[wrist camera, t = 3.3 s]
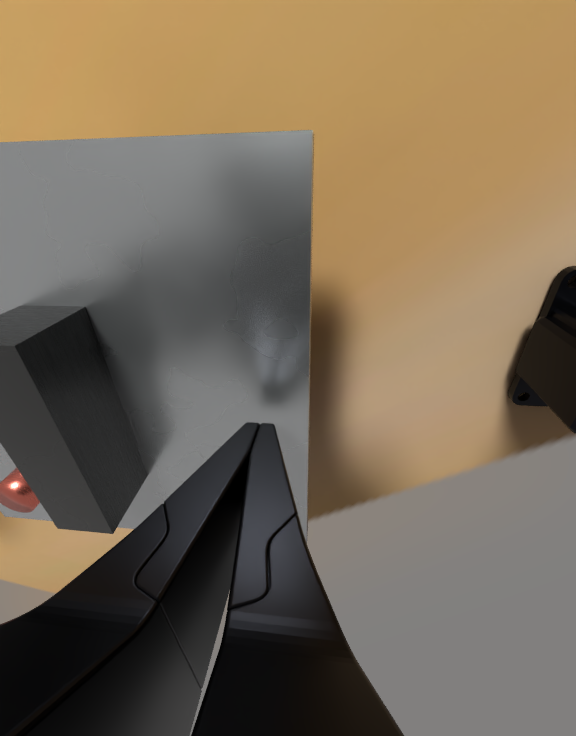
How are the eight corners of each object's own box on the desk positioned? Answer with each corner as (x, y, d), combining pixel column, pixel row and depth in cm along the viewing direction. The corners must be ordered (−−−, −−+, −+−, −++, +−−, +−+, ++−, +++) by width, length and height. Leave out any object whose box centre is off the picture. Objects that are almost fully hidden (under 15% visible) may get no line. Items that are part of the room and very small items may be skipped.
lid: (313, 133, 7) (304, 110, 4) (307, 528, 15) (302, 609, 12) (-233, 155, 9) (-492, 147, 6) (18, 501, 16) (-45, 568, 13)
